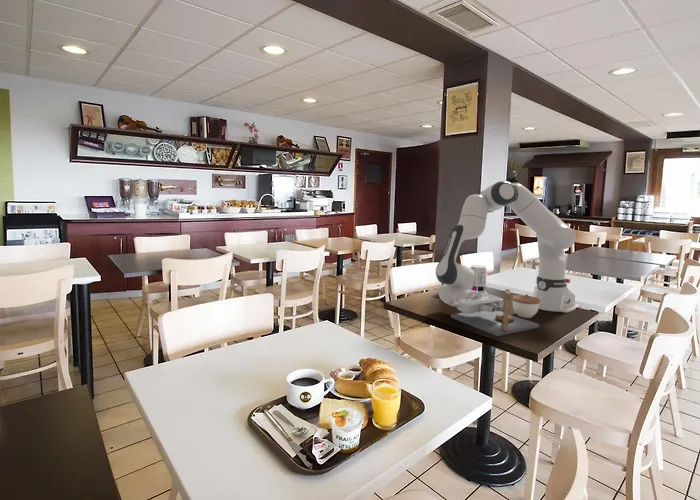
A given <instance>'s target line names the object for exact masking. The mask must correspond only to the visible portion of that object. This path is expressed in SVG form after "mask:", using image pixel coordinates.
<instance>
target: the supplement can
mask: <svg viewBox="0 0 700 500" xmlns="http://www.w3.org/2000/svg"><path fill="white" fill-rule="evenodd" d="M470 268H472V269H473V270H474V272H475V274H476V280H475V284H474V286H473V288H472V290H474V291H485V292H486V288H487V287H486V286H487V273H488V271H487V267H486V266H485V265H479V264H477V265H475V264H474V265H473V264H472V265H471V266H470Z"/></svg>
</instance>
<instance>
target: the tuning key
mask: <svg viewBox="0 0 700 500" xmlns="http://www.w3.org/2000/svg"><path fill="white" fill-rule="evenodd" d="M504 291H505V292H504V303H503V312H504V316H503V317H502V315H496V319H497V320H500V321H503V330H504V331H508V322H512V321H514V317H512V316H509V314H510V303H511V289H510V288H509V289H508V288H507V289H505V290H504Z"/></svg>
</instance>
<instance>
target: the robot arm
mask: <svg viewBox="0 0 700 500" xmlns="http://www.w3.org/2000/svg"><path fill="white" fill-rule="evenodd" d="M506 206H507V207H508V208H510V209H511V210H512V211H513V212H514V214H515V215H517V216H518V218H519V219H520V220H521V221H522V222H523V223H525V225H526V226H527V227H529V229H531V230H532V231H533V232H534V233H535V235H536V238H537V248H538V249H537V250H538V273H537V276H536V280H535V281H536V282H535V283H536V285H535V286H534V289H533V295H532V297H536V298H538V299H540V303H539V309H538V310H542V311H546V312H547V311H548V312H559V313H560V312H561V313H570V312H573V311H575V310H577V309H576V308H578V309H580V308H581V304H578V303H576V296H575V293H574V292H573V291H571V289H570V288H569V287H568V285H567V284H570V283H571V278H566V268H567V260H566V257H565V252H564V251H565V250H567V249H569V248H571V247H572V246H574V244H575V243H576V239H577V237H576V233H575V231H574V230H573V229H572V228H571V227H570V226H569V225H567V224H566V223H565V222H564V221H563V220H562V219H560V218H559V217H558V216H557V215H556V214H555V213H553V212H552V211H550V209H548V207H546V206H545V205H544V203H543V202H542V201H540V199H538V197H537V196H536V195H535V194H534V193H533V192H531V190H529V189H528V188H527V187H526V186H524V185H523V184H521V183H511V182H510V181H506V180H501V181H498V182H497V181H496V182H495V183H493V184H491V185H489V186H487V187H486V188H485V189H484V190H481V191H480V192H479V193H478V194H475V193H474V194H470V195H469V196H467V198H465V201H464V203H463V206H462V208H461V212H460V215H459V221H458V223H457V225H455V226H453V228H452V229H451V231H450V233H449V236H448V239H447V242H446V243H445V247H444V249H443V251H442V252H443V253H442V255H441V258H440V260H439V262H438V264H437V266H436V268H435V277H436V279H437V281H438V282H439V283H441V284H442V285H441V286H439V289H438V297H439V298H440V300H441V301H442V302H443V303H445V304H447V305H449V306H452V307H456V309H457V310H458V311H460V312H461V313H463V312H464V313H468V314H469V313H475V312H481V311H488V312H494V311H501V309H504V302H505V299H503V298H502V297H500V296H497V295H493V294H490V293H488V292H487V291H486V290H485V291H474V290H472V288H473V286H474V284H475V280H476V274H475V272H474V270H473V269H472V268H471V267H469V266H467V265H463V264H460V263H457V256H458V254H459V250H460V247H461V245H462V243H463V242H464V241H467V240H473V239H477V238H479V237H480V236H481V235H483V234H484V231H485V228H486V224H487V217H488V213H494V212H495V211H497V210H500V209H502V208H504V207H506Z"/></svg>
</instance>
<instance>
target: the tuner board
mask: <svg viewBox="0 0 700 500" xmlns="http://www.w3.org/2000/svg"><path fill="white" fill-rule="evenodd" d="M496 315H502V317H503V316H504V311H501V310H500V311H494V312H488V311H481V312H475V313H469V314H468V313H464V312H459V313H452V314H450V318H451V319H454V320H456V321H459V322H460V323H464V324H466V325H469V326H471V327H473V328H476V329H478V330H481V331H483V332H486V333H488V334H491V335H494V336H496V337H500V336H505V335H510V334H515V333H519V332H524V331H528V330H534V329H539V328H540V324H539V323H535V322H534V321H530V320H527V319H525V318H523V317H520V316H515V315H513V314H510V313H509V316H512V317H514V321H512V322H508V331H504V330H503V321H500V320H497V319H496Z"/></svg>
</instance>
